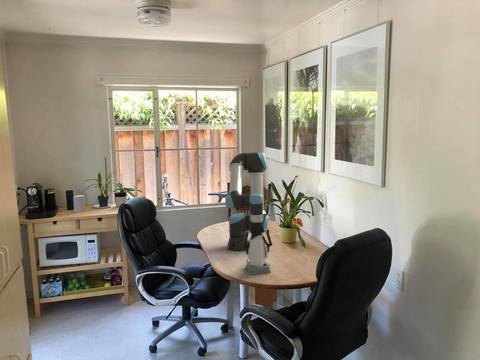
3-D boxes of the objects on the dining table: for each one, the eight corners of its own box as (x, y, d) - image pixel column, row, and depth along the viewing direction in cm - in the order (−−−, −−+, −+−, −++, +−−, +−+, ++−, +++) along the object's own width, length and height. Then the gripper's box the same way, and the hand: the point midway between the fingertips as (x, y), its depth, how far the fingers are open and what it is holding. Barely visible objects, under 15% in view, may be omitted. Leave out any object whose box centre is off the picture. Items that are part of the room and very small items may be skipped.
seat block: (245, 266, 228) (245, 258, 227) (265, 264, 230) (265, 257, 229) (250, 274, 216) (249, 266, 215) (270, 272, 218) (270, 264, 218)
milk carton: (261, 266, 218) (261, 234, 215) (250, 265, 220) (249, 233, 218) (265, 262, 224) (264, 231, 221) (254, 261, 227) (253, 230, 224)
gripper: (238, 224, 213) (240, 262, 216) (277, 221, 217) (278, 258, 220) (236, 220, 220) (237, 258, 223) (273, 217, 224) (274, 254, 227)
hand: (257, 258), depth 222 cm, fingers closed on milk carton, 10 cm apart
